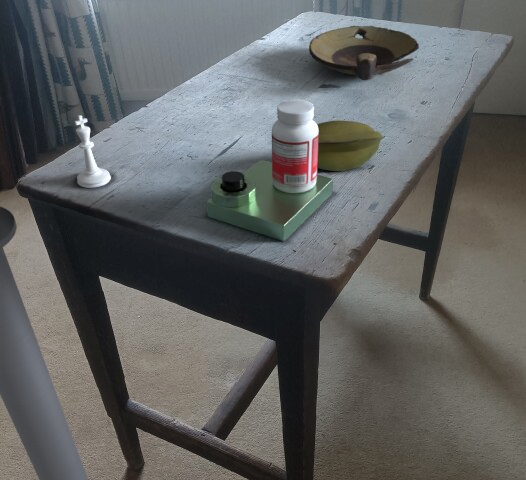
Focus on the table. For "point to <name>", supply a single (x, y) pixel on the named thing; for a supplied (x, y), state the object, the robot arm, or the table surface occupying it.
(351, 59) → the broken bowl
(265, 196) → the scale
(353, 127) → the fruit
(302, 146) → the pill bottle
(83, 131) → the chess piece
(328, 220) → the table surface
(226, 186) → the button
